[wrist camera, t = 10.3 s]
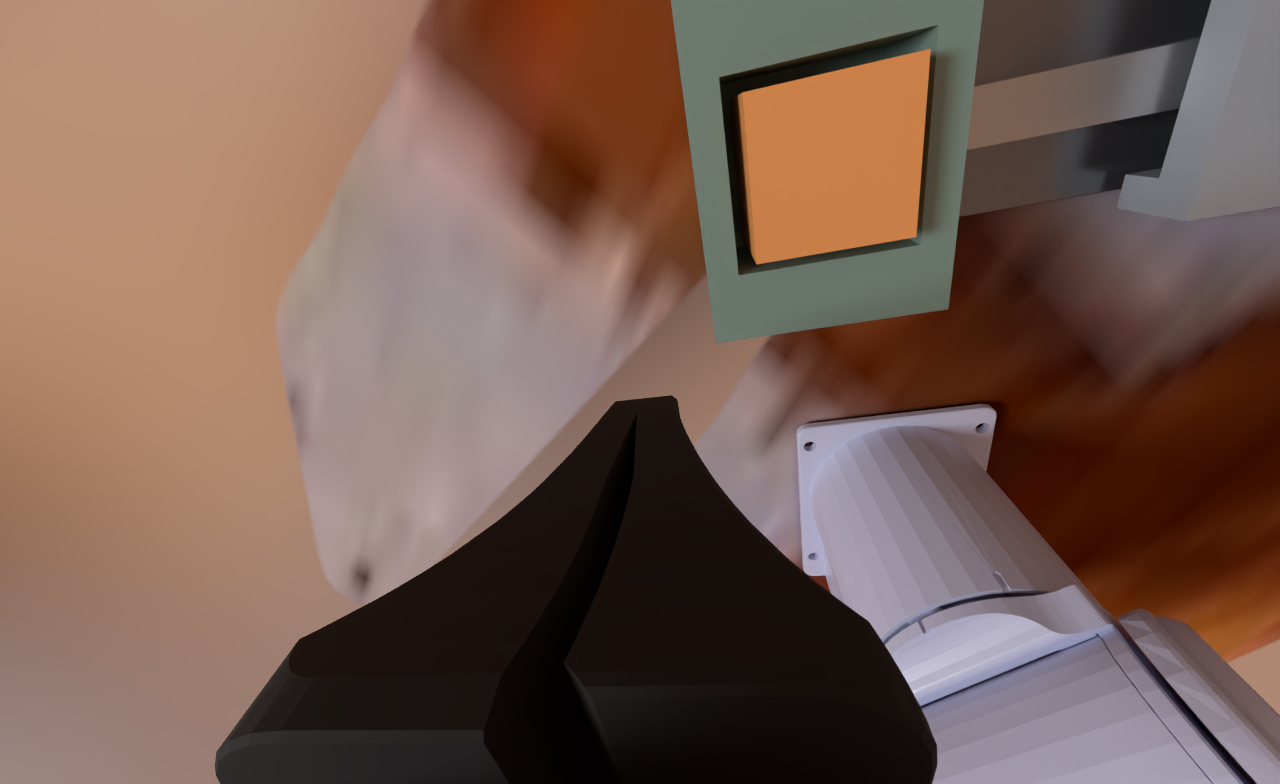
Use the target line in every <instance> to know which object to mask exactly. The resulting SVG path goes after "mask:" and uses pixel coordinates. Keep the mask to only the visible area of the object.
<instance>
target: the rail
mask: <svg viewBox="0 0 1280 784" xmlns="http://www.w3.org/2000/svg"><path fill="white" fill-rule="evenodd" d="M1210 4H1211V0H984V4H983V13H982V22H981V30H980V39H979V48H978V56H977V65H976V74H975V82H974V91H973V100H972V108H971V117H970V126H969V134H968V143H967V152H966V160H965V169H964V178H963V186H962V195H961V204H960V212H959V217H961V216H967V215H972V214H978V213H984V212H989V211H995V210H1001V209H1006V208H1012V207H1018V206H1024V205H1029V204H1035V203H1041V202H1046V201H1052V200H1058V199H1064V198H1069V197H1075V196H1081V195H1086V194H1092V193H1098V192H1103V191H1109V190H1115V189H1121V188H1122V185H1123V182H1124V178H1125V174H1131V173H1137V172H1142V171H1148V170H1153V169H1159V168H1162V167H1163V163H1164V160H1165V157H1166V153H1167V150H1168V146H1169V143H1170V140H1171V136H1172V133H1173V129H1174V126H1175V123H1176V119H1177V116H1178V112H1179V109H1180V106H1181V102H1182V99H1183V95H1184V92H1185V89H1186V85H1187V82H1188V78H1189V75H1190V72H1191V68H1192V65H1193V62H1194V58H1195V55H1196V51H1197V48H1198V45H1199V41H1200V38H1201V34H1202V31H1203V28H1204V24H1205V21H1206V17H1207V14H1208V11H1209V7H1210Z"/></svg>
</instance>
